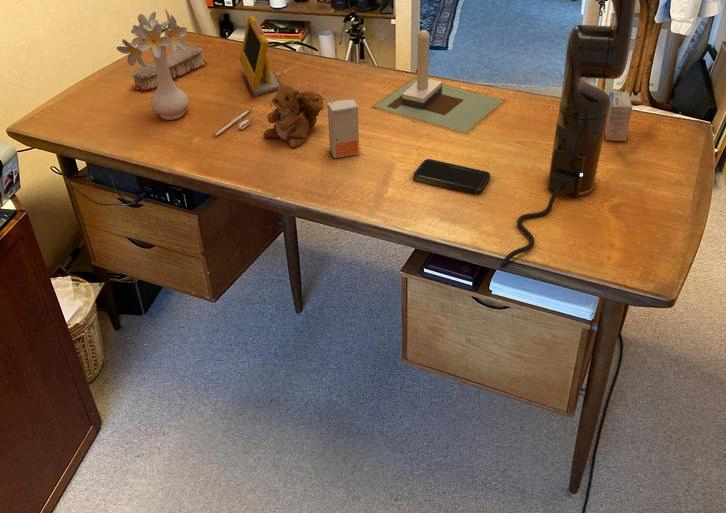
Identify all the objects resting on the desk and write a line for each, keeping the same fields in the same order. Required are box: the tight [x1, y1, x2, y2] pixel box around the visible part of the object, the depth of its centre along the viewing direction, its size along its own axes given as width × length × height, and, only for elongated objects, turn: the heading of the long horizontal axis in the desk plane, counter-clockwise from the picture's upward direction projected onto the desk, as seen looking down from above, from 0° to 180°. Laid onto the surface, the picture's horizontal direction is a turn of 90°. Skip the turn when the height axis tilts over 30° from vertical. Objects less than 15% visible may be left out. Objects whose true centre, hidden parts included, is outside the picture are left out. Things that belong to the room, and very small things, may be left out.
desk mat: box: [373, 77, 504, 134], centre depth 178 cm, size 20×26×1 cm
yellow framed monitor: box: [239, 14, 280, 97], centre depth 186 cm, size 20×8×16 cm, turn 17°
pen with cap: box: [214, 109, 251, 137], centre depth 172 cm, size 14×4×2 cm, turn 153°
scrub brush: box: [402, 29, 443, 110], centre depth 174 cm, size 11×6×18 cm, turn 150°
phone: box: [413, 158, 491, 195], centre depth 150 cm, size 8×1×15 cm
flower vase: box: [116, 8, 190, 121], centre depth 170 cm, size 13×18×25 cm
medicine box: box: [604, 91, 633, 142], centre depth 160 cm, size 8×4×9 cm, turn 169°
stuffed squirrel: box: [262, 81, 326, 149], centre depth 164 cm, size 10×14×13 cm
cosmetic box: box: [326, 98, 360, 159], centre depth 157 cm, size 6×4×12 cm
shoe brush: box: [131, 45, 205, 91], centre depth 196 cm, size 24×8×5 cm, turn 146°
